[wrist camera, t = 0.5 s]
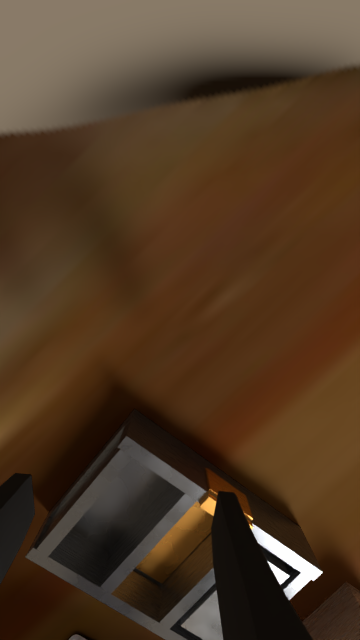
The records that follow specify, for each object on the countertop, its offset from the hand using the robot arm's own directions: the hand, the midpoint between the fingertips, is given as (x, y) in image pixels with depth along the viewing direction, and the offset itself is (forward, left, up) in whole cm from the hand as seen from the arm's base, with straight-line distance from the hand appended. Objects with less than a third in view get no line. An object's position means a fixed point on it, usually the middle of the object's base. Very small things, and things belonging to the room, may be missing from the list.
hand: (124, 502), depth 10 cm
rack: (-8, -9, -10) cm, 16 cm away
